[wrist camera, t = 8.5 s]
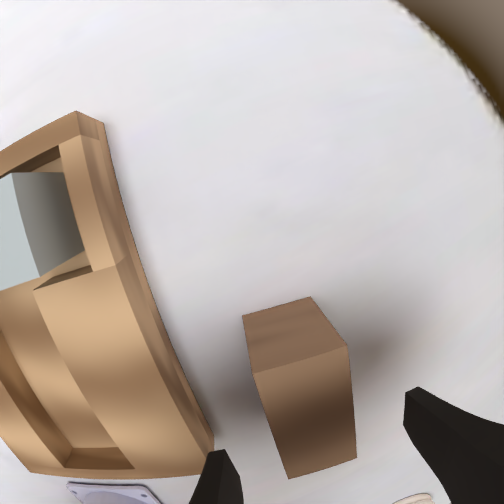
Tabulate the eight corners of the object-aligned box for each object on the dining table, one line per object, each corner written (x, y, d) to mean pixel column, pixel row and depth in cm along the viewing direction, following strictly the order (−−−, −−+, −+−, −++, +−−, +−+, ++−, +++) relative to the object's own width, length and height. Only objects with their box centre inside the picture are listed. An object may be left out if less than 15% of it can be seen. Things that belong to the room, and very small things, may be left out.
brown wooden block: (328, 399, 17) (356, 457, 12) (272, 415, 17) (288, 479, 12) (309, 295, 15) (347, 345, 10) (242, 314, 15) (252, 373, 10)
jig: (213, 435, 16) (214, 472, 14) (43, 446, 16) (30, 472, 13) (103, 122, 12) (75, 110, 9) (-64, 218, 12) (-94, 225, 9)
